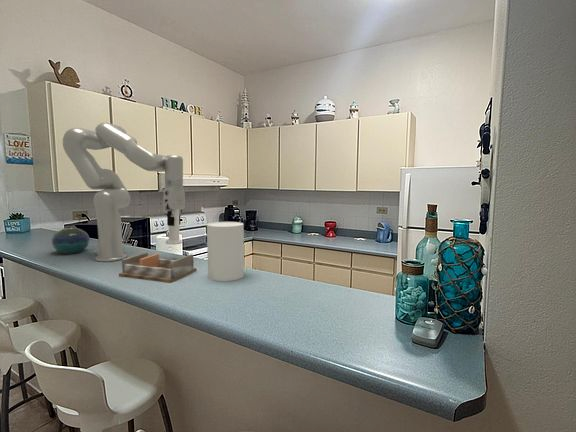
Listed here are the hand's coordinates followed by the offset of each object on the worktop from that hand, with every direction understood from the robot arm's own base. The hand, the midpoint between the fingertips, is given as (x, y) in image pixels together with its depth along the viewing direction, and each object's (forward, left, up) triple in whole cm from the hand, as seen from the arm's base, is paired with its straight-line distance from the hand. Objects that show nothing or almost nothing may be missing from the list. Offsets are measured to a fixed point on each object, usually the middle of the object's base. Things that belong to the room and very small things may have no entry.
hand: (173, 224), depth 141 cm
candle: (0, 0, -8) cm, 8 cm away
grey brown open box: (+7, -19, -16) cm, 26 cm away
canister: (+33, -13, -17) cm, 39 cm away
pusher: (+2, -19, -15) cm, 24 cm away
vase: (-57, -4, -17) cm, 60 cm away
